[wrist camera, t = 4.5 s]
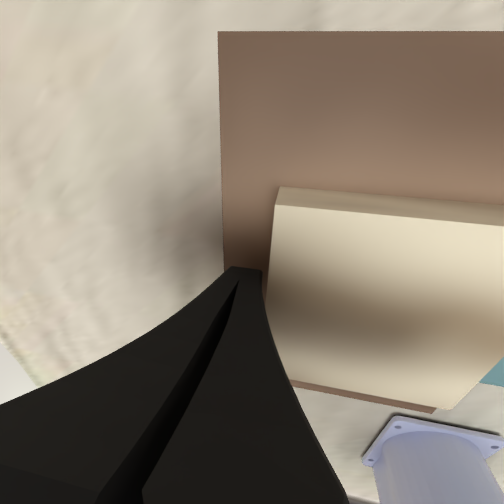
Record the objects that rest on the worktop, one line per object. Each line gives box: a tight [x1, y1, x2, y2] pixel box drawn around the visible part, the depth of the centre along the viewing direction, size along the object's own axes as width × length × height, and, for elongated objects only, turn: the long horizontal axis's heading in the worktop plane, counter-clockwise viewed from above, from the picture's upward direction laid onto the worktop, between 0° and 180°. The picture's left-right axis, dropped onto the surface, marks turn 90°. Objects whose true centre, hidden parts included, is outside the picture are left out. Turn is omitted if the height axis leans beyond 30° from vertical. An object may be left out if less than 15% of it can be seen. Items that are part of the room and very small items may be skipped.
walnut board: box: [218, 31, 504, 414], centre depth 11 cm, size 16×12×3 cm
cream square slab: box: [265, 186, 504, 410], centre depth 9 cm, size 8×8×2 cm
